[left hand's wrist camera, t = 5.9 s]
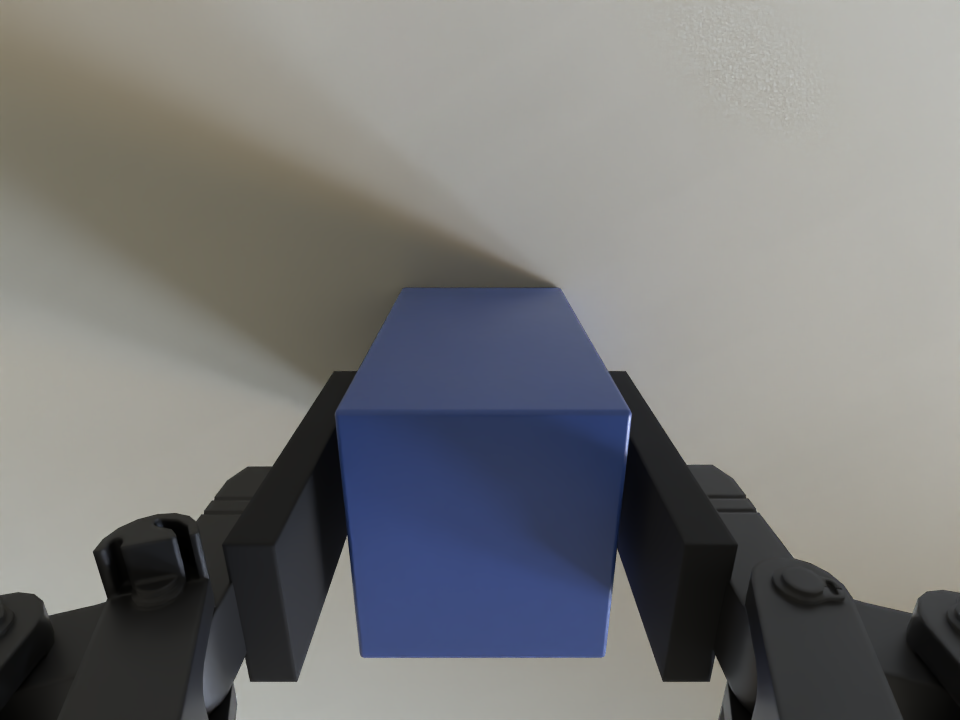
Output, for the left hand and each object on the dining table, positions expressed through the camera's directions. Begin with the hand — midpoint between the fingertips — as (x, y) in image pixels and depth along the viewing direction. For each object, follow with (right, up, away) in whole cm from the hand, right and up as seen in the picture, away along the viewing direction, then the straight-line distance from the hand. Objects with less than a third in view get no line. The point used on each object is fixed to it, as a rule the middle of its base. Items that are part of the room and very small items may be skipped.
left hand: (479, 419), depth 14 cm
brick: (0, +1, +3) cm, 3 cm away
